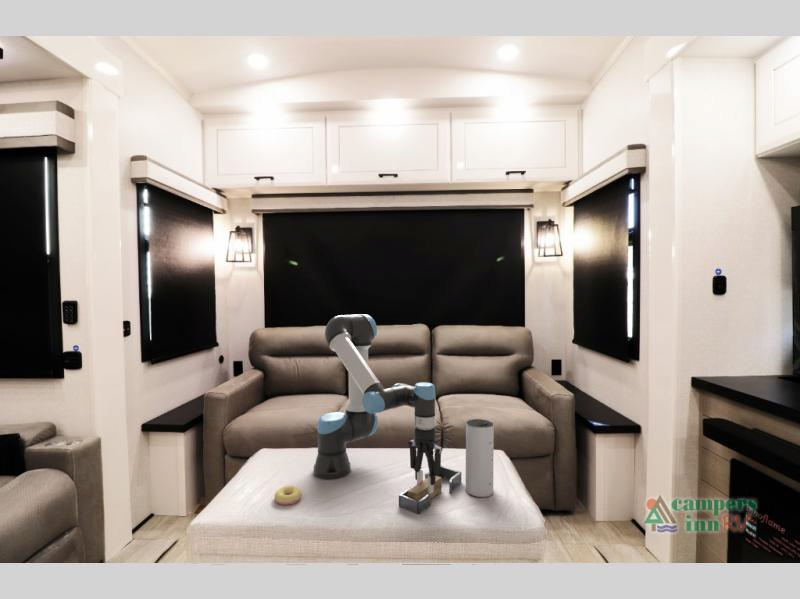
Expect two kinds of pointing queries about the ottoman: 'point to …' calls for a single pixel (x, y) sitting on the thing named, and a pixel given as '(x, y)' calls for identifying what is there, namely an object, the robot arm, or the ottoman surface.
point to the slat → (425, 489)
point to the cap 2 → (449, 477)
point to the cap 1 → (413, 502)
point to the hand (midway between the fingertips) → (425, 490)
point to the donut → (288, 495)
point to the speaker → (479, 457)
